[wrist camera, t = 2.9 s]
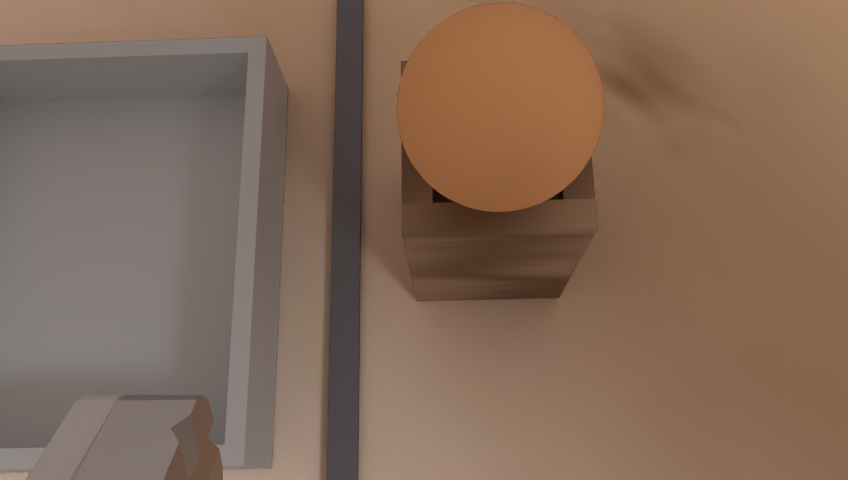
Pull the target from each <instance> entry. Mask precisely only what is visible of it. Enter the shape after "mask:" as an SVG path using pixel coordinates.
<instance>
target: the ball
mask: <svg viewBox="0 0 848 480" xmlns="http://www.w3.org/2000/svg"><path fill="white" fill-rule="evenodd" d="M603 117H604V93H603V87H602V81H601V78H600V75H599V72H598V69H597V66H596V64H595V62H594V59H593V57H592V55H591V53H590V52H589V50H588V49H587V47H586V46H585V44H584V43H583V42H582V41H581V39H580V38H579V37H578V36H577V35H576V34H575V33H574V31H572V30H571V29H570V28H569V27H568V26H567V25H566V24H564V23H563V22H561V21H560V20H559V19H557V18H556V17H554V16H552V15H550V14H548V13H546V12H544V11H541V10H539V9H536V8H534V7H530V6H526V5H522V4H516V3H488V4H482V5H478V6H473V7H470V8H467V9H464V10H462V11H460V12H458V13H455V14H453V15H452V16H450V17H448V18H447V19H445V20H443V21H442V22H441V23H440V24H438V25H437V26H436V27H435V28H433V29H432V30H431V31H430V32H429V33H428V34H427V35H426V36H425V37H424V38H423V39H422V40H421V42H420V43H419V44H418V46H417V47H416V48H415V50H414V51H413V53H412V55H411V57H410V58H409V60H408V62H407V64H406V66H405V69H404V71H403V74H402V77H401V81H400V85H399V89H398V94H397V123H398V129H399V133H400V137H401V140H402V143H403V146H404V149H405V151H406V154H407V156H408V157H409V159H410V161H411V163H412V165H413V166H414V167H415V169H416V170H417V171H418V173H419V174H420V175H421V177H422V178H423V179H424V180H425V181H426V182H427V183H428V184H429V185H430V186H431V187H432V188H434V189H435V190H436V191H437V192H439V193H440V194H441V195H443V196H445V197H446V198H448V199H450V200H452V201H454V202H456V203H458V204H461V205H463V206H466V207H469V208H473V209H476V210H482V211H488V212H507V211H516V210H520V209H525V208H529V207H532V206H535V205H537V204H540V203H542V202H544V201H546V200H548V199H550V198H552V197H553V196H555V195H556V194H558V193H559V192H561V191H562V190H563V189H564V188H566V187H567V186H568V185H569V184H570V183H571V182H572V181H573V180H575V178H576V177H577V176H578V175H579V174H580V173H581V171H582V170H583V169H584V167H585V166H586V164H587V162H588V161H589V159H590V158H591V156H592V154H593V152H594V150H595V148H596V145H597V143H598V140H599V136H600V133H601V129H602V125H603Z"/></svg>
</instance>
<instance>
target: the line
mask: <svg viewBox="0 0 848 480" xmlns="http://www.w3.org/2000/svg"><path fill="white" fill-rule="evenodd" d="M362 83H363V0H337V44H336V89H335V133H334V178H333V222H332V266H331V311H330V355H329V400H328V444H327V480H358V452H359V360H360V268H361V176H362Z"/></svg>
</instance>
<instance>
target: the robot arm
mask: <svg viewBox="0 0 848 480" xmlns="http://www.w3.org/2000/svg"><path fill="white" fill-rule="evenodd" d="M213 421H214V420H213V416H212V412H211V408H210V404H209V400H208V399H207V398H206V397H204V396H203V395H124V396H120V395H103V396H84V397H82V398H80V399H78V400H77V401H76V402H75V403H74V404H73V406H72V407H71V409H70V410H69V412H68V413H67V415H66V417H65V418H64V420H63V421H62V423H61V425H60V426H59V428H58V429H57V431H56V432H55V434H54V436H53V437H52V439H51V440H50V442H49V444H48V445H47V447H46V448H45V450H44V452H43V453H42V455H41V456H40V458H39V459H38V461H37V463H36V464H35V466H34V467H33V469H32V471H31V472H30V474H29V475H28V477H27V478H26V480H223V471H222V460H221V455H220V450H219V448H218V447H217V446H216V445H215V444H214V443H213V442H211V441H210V440H209V439H208V435H209V433H210V430H211V427H212V424H213Z"/></svg>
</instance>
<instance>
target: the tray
mask: <svg viewBox="0 0 848 480" xmlns="http://www.w3.org/2000/svg"><path fill="white" fill-rule="evenodd" d="M287 101H288V86H287V84H286V81H285V79H284V76H283V74H282V72H281V69H280V67H279V65H278V62H277V60H276V57H275V55H274V53H273V50H272V48H271V46H270V43H269V41H268V38H267V37H237V38H207V39H177V40H148V41H118V42H88V43H58V44H29V45H0V472H31V471H32V469H33V467H34V466H35V464H36V463H37V461H38V459H39V458H40V456H41V455H42V453H43V452H44V450H45V448H46V447H47V445H48V444H49V442H50V440H51V439H52V437H53V436H54V434H55V432H56V431H57V429H58V428H59V426H60V425H61V423H62V421H63V420H64V418H65V417H66V415H67V413H68V412H69V410H70V409H71V407H72V406H73V404H74V403H75V402H76V401H77V400H78V399H80V398H82V397H84V396H103V395H120V396H124V395H203V396H204V397H206V398H207V399H208V400H209V404H210V408H211V412H212V416H213V420H214V421H213V424H212V427H211V430H210V433H209V435H208V439H209V440H210V441H211V442H213V443H214V444H215V445H216V446H217V447H218V448H219V450H220V455H221V460H222V469H248V468H272V451H273V427H274V404H275V381H276V358H277V334H278V311H279V288H280V264H281V241H282V218H283V195H284V171H285V148H286V125H287Z"/></svg>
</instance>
